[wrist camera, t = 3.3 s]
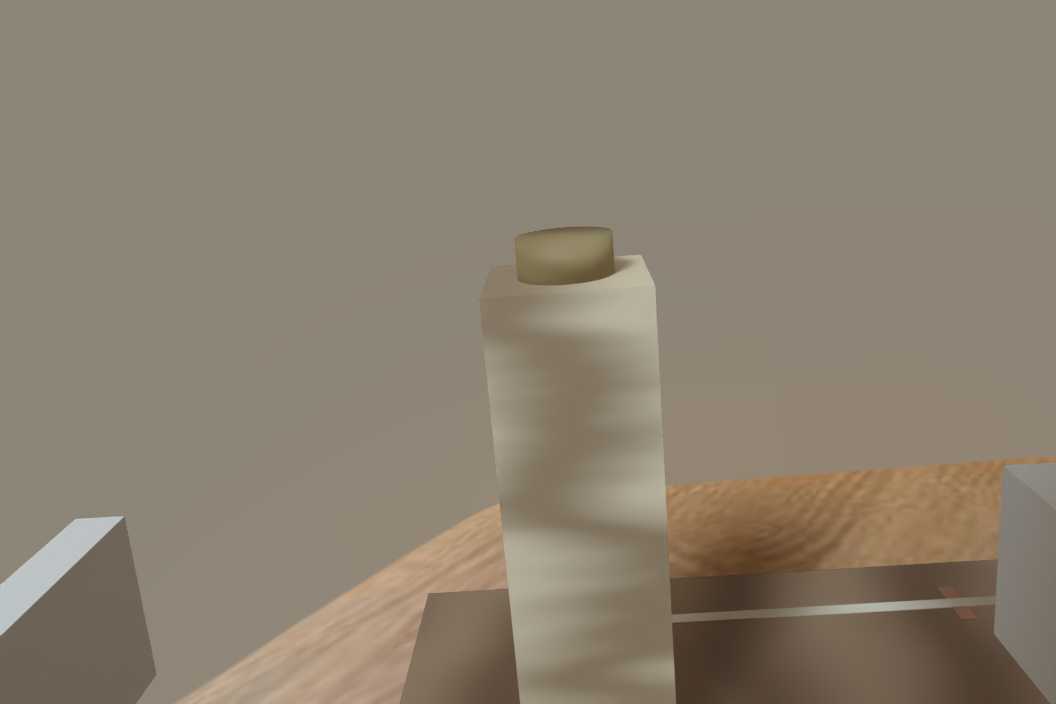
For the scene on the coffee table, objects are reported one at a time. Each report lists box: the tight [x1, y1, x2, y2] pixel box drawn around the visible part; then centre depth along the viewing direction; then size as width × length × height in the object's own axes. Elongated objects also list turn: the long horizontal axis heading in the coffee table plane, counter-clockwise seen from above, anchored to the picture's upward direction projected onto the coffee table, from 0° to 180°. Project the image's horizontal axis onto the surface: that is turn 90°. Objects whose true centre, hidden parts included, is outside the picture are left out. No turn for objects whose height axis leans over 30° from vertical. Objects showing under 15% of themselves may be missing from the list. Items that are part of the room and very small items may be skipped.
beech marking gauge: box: [479, 227, 676, 704], centre depth 25 cm, size 4×9×14 cm, turn 178°
